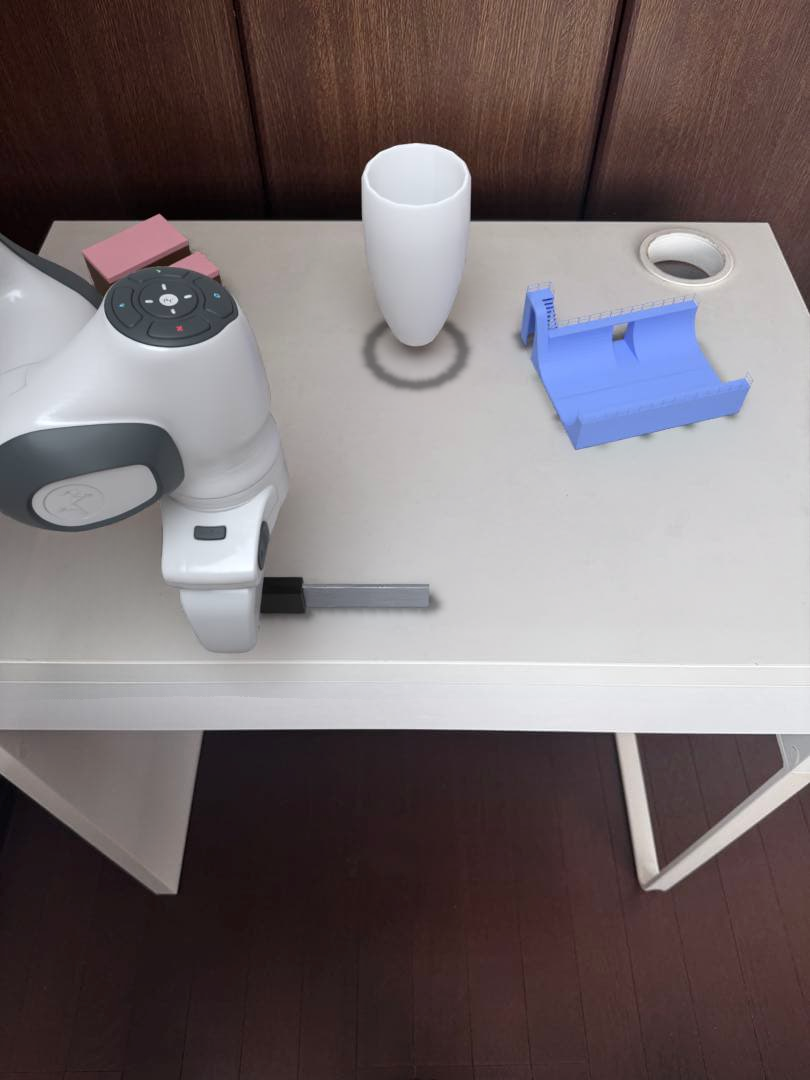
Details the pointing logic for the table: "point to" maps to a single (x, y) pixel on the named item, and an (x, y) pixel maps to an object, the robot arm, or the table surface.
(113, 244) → the cake
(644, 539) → the table surface
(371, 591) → the knife
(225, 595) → the robot arm
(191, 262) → the cake slice
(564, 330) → the half pipe
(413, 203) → the cup
